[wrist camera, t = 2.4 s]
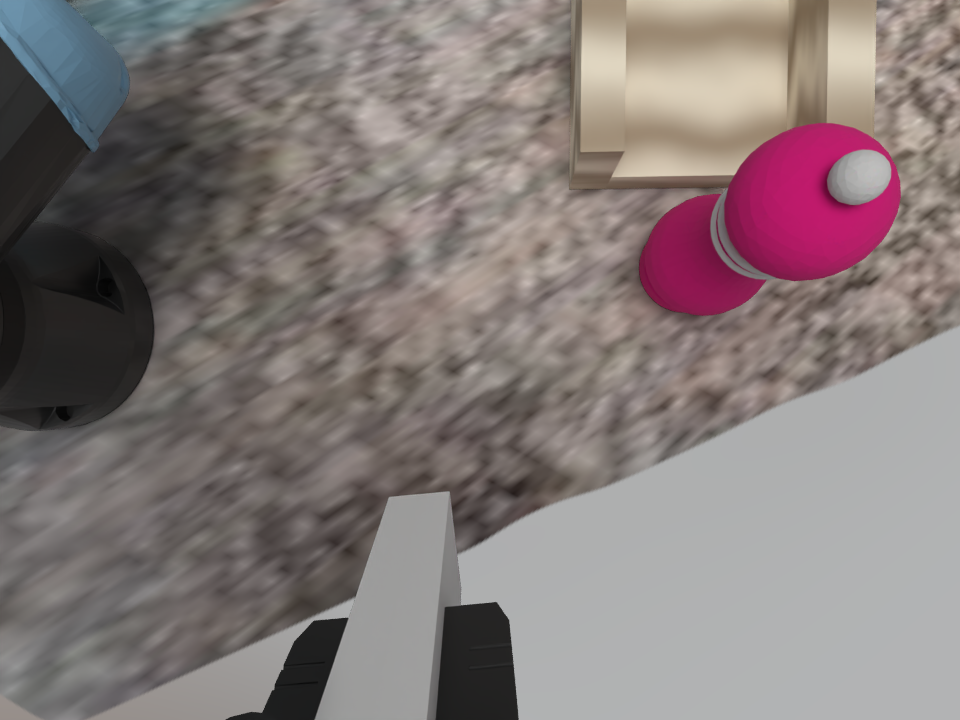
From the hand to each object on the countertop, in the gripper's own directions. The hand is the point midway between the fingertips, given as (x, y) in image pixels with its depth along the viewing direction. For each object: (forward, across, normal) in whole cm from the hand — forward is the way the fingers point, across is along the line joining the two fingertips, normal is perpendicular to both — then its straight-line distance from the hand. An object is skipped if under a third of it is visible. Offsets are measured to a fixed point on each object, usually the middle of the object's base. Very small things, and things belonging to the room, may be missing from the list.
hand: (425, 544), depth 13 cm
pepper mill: (+26, +16, +4) cm, 31 cm away
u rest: (+28, +18, +18) cm, 38 cm away
